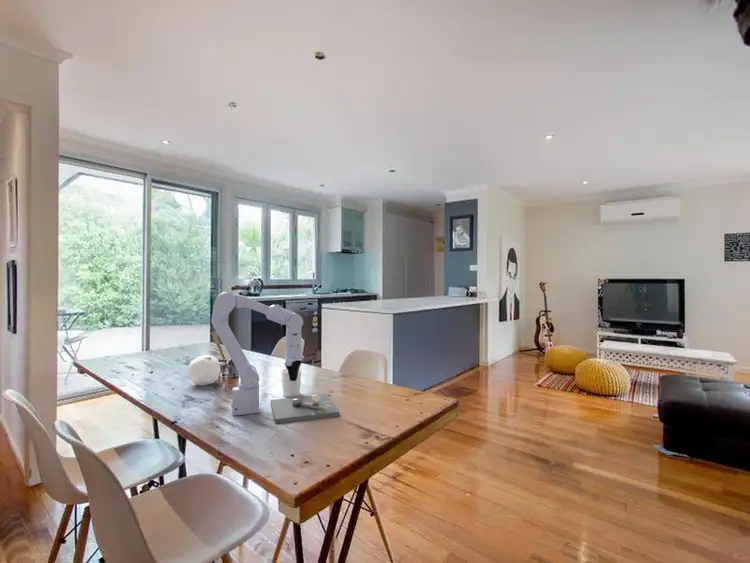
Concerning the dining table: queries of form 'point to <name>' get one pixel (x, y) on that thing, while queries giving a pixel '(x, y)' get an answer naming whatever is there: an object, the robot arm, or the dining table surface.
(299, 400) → the peg lever
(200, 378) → the geodesic sphere
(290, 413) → the dial board
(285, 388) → the white cup
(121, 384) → the dining table surface
